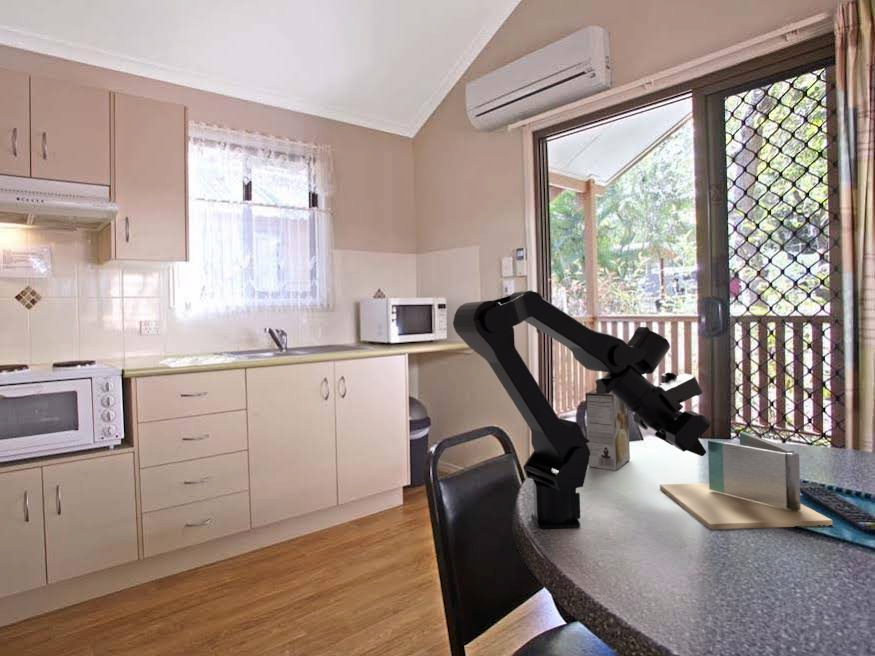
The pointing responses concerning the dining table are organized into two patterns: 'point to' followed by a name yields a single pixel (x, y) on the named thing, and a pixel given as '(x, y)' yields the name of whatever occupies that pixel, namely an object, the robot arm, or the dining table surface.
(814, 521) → the base
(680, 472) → the dining table surface
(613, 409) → the coffee box
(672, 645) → the dining table surface
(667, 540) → the dining table surface
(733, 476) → the jaw
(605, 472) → the dining table surface
